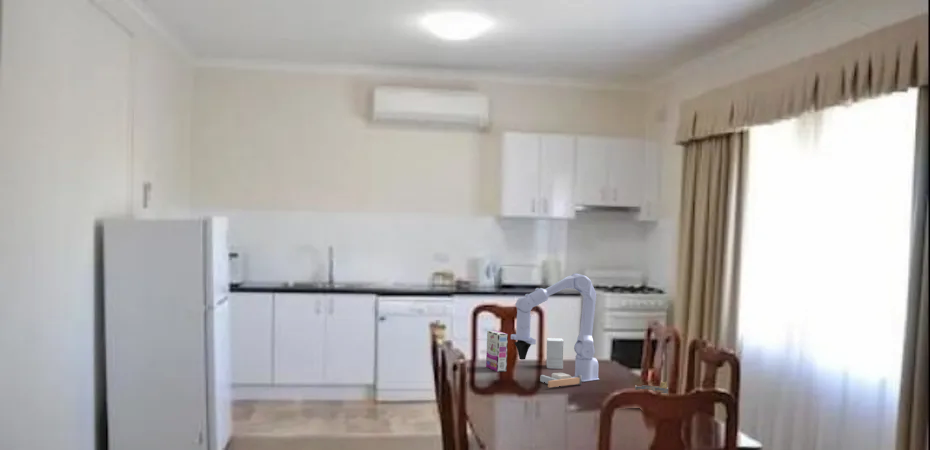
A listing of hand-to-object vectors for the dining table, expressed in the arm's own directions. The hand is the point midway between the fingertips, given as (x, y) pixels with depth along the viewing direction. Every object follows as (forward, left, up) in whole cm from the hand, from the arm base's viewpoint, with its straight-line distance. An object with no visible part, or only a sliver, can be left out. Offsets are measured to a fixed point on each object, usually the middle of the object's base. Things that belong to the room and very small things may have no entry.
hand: (522, 359), depth 308 cm
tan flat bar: (-7, +19, -8) cm, 22 cm away
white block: (-10, +13, -9) cm, 19 cm away
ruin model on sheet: (-16, +56, -9) cm, 59 cm away
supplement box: (-29, -14, -9) cm, 33 cm away
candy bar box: (-2, -21, -9) cm, 23 cm away
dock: (-10, +12, -8) cm, 17 cm away
